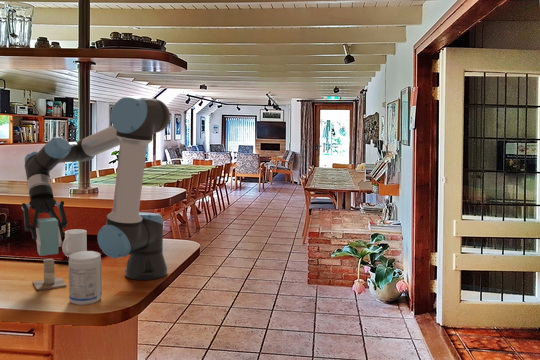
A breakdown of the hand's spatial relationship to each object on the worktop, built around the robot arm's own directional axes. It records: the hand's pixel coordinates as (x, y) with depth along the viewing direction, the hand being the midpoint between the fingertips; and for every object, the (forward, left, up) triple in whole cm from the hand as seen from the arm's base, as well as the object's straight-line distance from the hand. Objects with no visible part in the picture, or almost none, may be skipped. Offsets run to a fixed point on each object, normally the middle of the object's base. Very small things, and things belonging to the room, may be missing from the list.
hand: (49, 245), depth 155 cm
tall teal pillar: (+3, -2, -3) cm, 5 cm away
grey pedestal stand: (+3, -2, -14) cm, 15 cm away
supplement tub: (-18, +2, -15) cm, 24 cm away
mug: (+23, -30, -15) cm, 40 cm away
